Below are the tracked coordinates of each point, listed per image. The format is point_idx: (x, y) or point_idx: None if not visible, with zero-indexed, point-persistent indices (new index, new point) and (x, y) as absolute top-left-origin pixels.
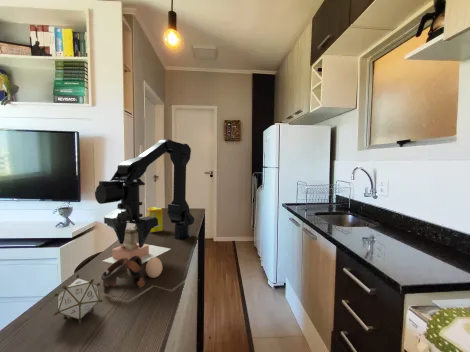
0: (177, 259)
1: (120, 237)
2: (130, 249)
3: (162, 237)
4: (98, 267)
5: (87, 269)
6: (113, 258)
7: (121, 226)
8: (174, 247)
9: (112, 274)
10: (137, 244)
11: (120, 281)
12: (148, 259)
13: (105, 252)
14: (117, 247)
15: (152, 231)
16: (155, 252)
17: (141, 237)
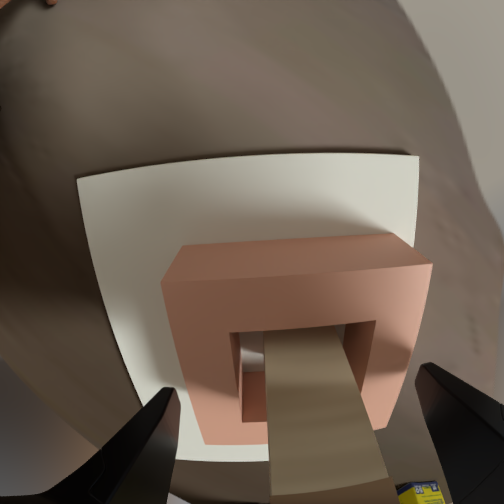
0: (49, 384)
1: (452, 407)
2: (269, 350)
3: None
4: (357, 74)
5: (390, 27)
6: (380, 230)
7: (492, 501)
8: (189, 470)
9: None
10: None
11: (35, 48)
12: (121, 333)
13: (495, 286)
14: (415, 314)
15: (403, 494)
16: (191, 416)
17: (87, 463)
